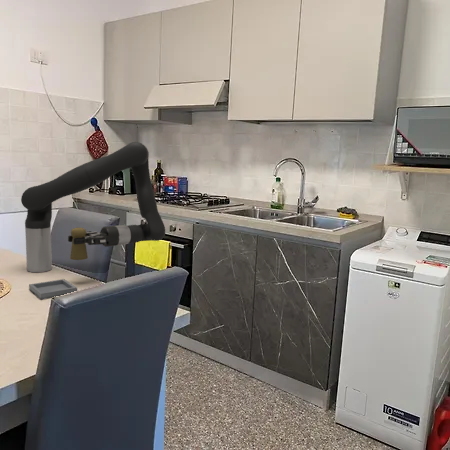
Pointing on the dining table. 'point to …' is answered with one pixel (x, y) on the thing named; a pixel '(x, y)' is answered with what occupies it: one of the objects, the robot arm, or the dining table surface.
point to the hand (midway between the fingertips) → (71, 240)
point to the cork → (78, 245)
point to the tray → (52, 288)
